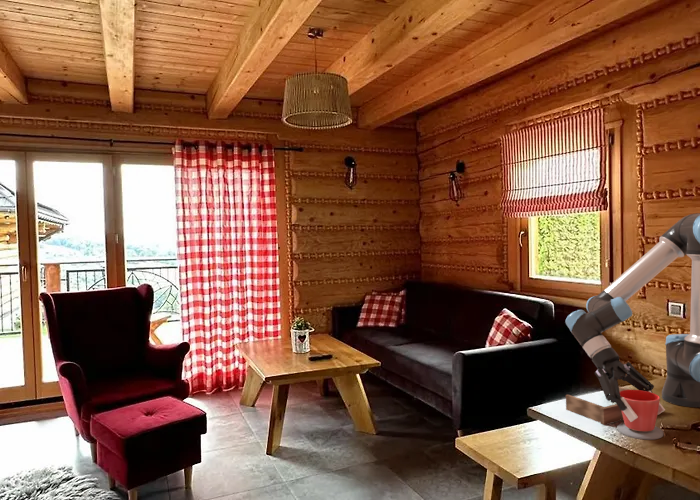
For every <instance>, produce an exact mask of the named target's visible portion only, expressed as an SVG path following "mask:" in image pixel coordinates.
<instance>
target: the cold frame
mask: <svg viewBox="0 0 700 500" xmlns="http://www.w3.org/2000/svg"><path fill="white" fill-rule="evenodd" d="M618 386H619V385H618ZM623 390H631V388H630V389H629V388H625V387H623V386H619V391H623ZM565 409H566V410H567V411H569V412H571V413H574V414H577V415H580V416H582V417H585V418H587V419H589V420H592V421H595V422H598V423H600V425H603V426H605V425H609V424H612V423H613V424H614V423H616V422H620V421H624V419H623V415H622V411H621V410H620V408H619V406H618V405H617V404H616V403H614V404H612V405H611V404H610V405H607V406H602V405H599V404H597V403H594V402H591V401H588V400H586V399H582V398H579V397H576V396H574V395H570V394H566V395H565Z"/></svg>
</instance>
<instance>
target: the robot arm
mask: <svg viewBox="0 0 700 500" xmlns="http://www.w3.org/2000/svg"><path fill="white" fill-rule="evenodd" d="M685 256H687V257H688V258H690V259H691V277H690V278H691V280H690V281H691V282H690V283H691V284H690V285H691V287H690V323H689V324H690V325H689V326H690V327H689V330H690V331H689V333H679V334H678V333H677V334H673V333H671V334H669V335H667V336H666V337H665V344H664V345H665V354H666V355H665V357H666V359H665V360H666V362H665V363H666V378H665V381H664V384H663V387H662V390H661V398H662V400H664V401H665V402H667V403H671V404H673V405H677V406H683V407H687V408H688V407H689V408H700V213H690V214H688V215H685V216H683V217H681V218H680V219H679V220H678V221H677V222H675V223H674V224H673V225H672V226H671V227H669V229H667V231H665V233H663V234H662V235H660V236H659V242H657V243H656V244H655V245H654V246H652V248H651V249H649V250H648V251H647V252H646V253H645V254H644V255H643V256H641V257H640V258H639V259H638V260H637V261H636V262H634V263H633V264H632V265H631V266H630V267H629V268H628V269H626V270H624V272H623V273H622V274H621V275H619V276H618V277H617V278H616V279H615V280H614V281H613V282H611V283H610V284H609V285H608V286H607V287H606V288H604V290H602V291H601V292H600V293H598V295H594V296H592V297H589V298H588V300H587V301H586V304H585V308H586V311H587V312H586V311H585V310H583V309H577V310H575V311H572V312H571V313H570V314H568V315H567V317H566V319H565V322H564V323H565V325H566V326H567V328H568V329H569V331H570V332H571V334H572V335H573V337H574V338H575V339H576V341H577V342H578V343H579V345H580V346H581V347H582V349H583V350H584V351H585V353H586V354H587V356H588V357H589V358H590V359H591V361H592V363H593V364H594V365H595V367H596V368H597V369H596V371H595V372H594V375H595V376H596V378H597V379H598V382H599V383H600V387H601V390H602V392H603V394H604V396H605V398H606V400H607V401H609V402H610V403H612V404H617V405H618V406H619V408H620V410H622V411H623V412H624V413H625V415H626V416H627V418H628V419H629V421H630V422H632V421H634V420H635V419H636V418H638V416H637V415H636V414H635V412H634V411H633V409H632V408H631V407H630V405H629V404H628V403H627V401H626V400H625V399H624V397H622V398H620V391H619V380H620V381H621V380H622V381H623V382H627V383H628V384H629V385H631V386H633V387H634V388H636V390H642V391H647V392H651V393H654V392H653V390H654V388H655V385H654V384H653V383H652V382H651V381H649V380H648V379H647V378H646V377H645V376H644V375H643V374H641V372H639V371H638V370H637V369H636V368H635V367H634V366H633V365H632V363H631V362H630V361H628V362H627V363H623V362H621V361H620V356H619V354H618V352H616V350H615V349H614V348H613V347H612V345H611V344H610V342H609V340H607V338H606V336H604V335H603V334H602V333H604V332H605V331H607V330H609V329H611V328H613V327H615V326H616V325H618V324H620V323H623V322H625V321H626V320H628V319H629V318H631V317H632V315H633V311H632V308H631V307H630V305H629V304H628V303H627V301H628V300H630V299H631V297H633V296H634V295H635V294H636V293H638V291H640V290H641V289H643V287H644V286H646V285H647V284H648V283H649V282H651V280H653V279H654V278H655V277H656V276H657V275H658V274H659V273H661V272H662V271H663V270H665V268H667V267H668V266H669V265H671V263H673V262H674V261H676V259H678V258H684V257H685ZM665 411H666V409H665V408H664V406H663V405H662V404H661V401H660V402H659V408H658V414H657V416H658V415H660V414H661V413H663V412H665Z"/></svg>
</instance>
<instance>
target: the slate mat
mask: <svg viewBox="0 0 700 500" xmlns="http://www.w3.org/2000/svg"><path fill="white" fill-rule="evenodd" d="M616 427H617V431H618V432H619V434H621V435H623V436H626V437H629V438H633V439H638V440H647V441H650V440H651V441H652V440H658V439H661V438H662V437H664V431H663V429H661V428H660V427H658V426H656V425H655V428H654V430H652V431H636V430H632V429H630V428H628V427H626V426H625V423H624V422H621V423H619V424H618V425H617V426H616Z"/></svg>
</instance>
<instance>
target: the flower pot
mask: <svg viewBox="0 0 700 500" xmlns="http://www.w3.org/2000/svg"><path fill="white" fill-rule="evenodd" d="M622 397H624V399H625V400H626V401H627V403H628V404H629V405H630V407H631V408H632V409H633V411H634V412H635V414H636V415H637V416H638V418H636V419H635V420H634V421H632V422H630V421H629V419H628V418H627V416H626V415H625V413H624V412H623V411H622V410H621V411H622V415H623V419H624V420H623V423H625V426H626V427H628V428H630V429H632V430H636V431H652V430H654V428H655V426H656V422H657V418H658V408H659V402H660V403H661V401H660V400H661V399H660V396H659V395H658V394H656V393H654V392H653V393H651V392H647V391H642V390H638V389H630V390H623V391H620V398H622Z"/></svg>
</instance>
